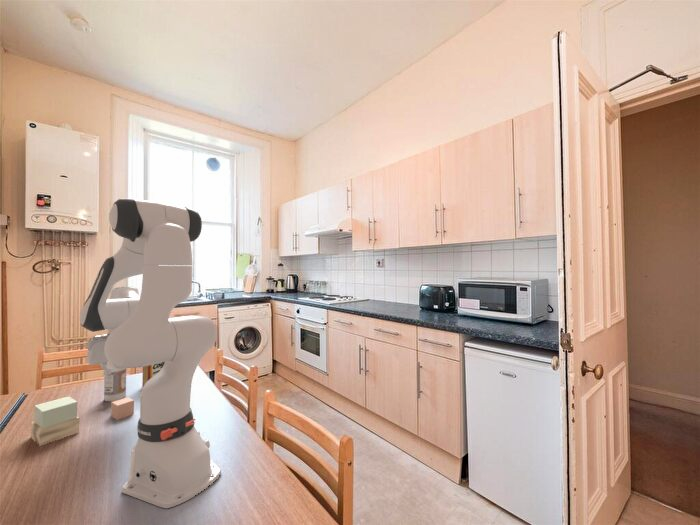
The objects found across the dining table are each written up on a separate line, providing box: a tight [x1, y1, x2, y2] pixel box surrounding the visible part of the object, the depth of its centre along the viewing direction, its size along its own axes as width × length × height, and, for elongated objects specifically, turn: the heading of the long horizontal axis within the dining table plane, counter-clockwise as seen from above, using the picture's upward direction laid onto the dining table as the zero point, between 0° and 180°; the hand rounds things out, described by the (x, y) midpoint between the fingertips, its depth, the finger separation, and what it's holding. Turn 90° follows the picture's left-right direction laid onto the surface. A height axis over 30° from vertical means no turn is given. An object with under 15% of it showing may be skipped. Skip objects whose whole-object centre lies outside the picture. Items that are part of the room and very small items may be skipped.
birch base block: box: [30, 415, 81, 447], centre depth 95 cm, size 9×9×5 cm
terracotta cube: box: [110, 396, 135, 421], centre depth 108 cm, size 5×5×5 cm
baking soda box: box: [141, 362, 165, 388], centre depth 136 cm, size 10×6×16 cm
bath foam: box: [103, 362, 127, 402], centre depth 122 cm, size 7×7×20 cm
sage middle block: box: [34, 396, 78, 429], centre depth 95 cm, size 8×8×5 cm
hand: (123, 370), depth 108 cm, fingers open, 8 cm apart
